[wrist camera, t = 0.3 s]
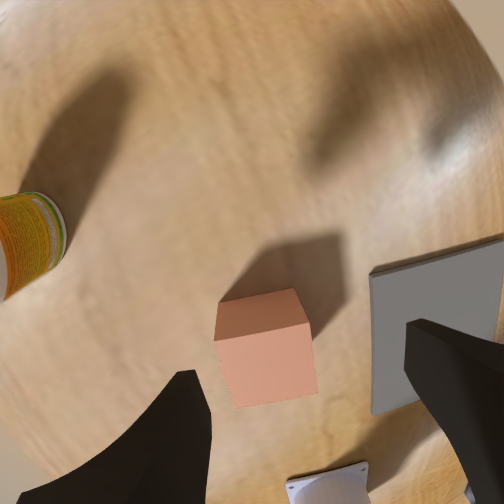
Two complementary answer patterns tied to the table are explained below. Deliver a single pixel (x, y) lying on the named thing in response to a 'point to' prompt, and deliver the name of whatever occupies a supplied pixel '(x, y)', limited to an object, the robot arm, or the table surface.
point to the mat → (430, 311)
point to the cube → (265, 348)
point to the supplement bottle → (28, 240)
